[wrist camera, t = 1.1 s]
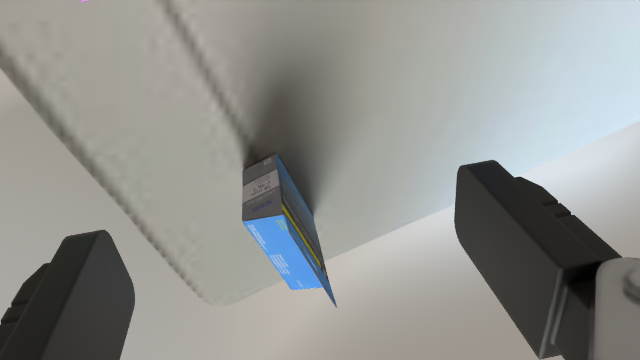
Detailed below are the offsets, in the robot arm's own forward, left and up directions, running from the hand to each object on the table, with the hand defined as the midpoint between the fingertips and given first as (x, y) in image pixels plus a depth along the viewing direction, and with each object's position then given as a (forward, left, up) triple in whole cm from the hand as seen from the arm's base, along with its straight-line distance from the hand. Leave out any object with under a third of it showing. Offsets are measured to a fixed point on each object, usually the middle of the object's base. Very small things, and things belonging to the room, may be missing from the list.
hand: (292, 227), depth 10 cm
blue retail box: (+16, -4, -28) cm, 33 cm away
